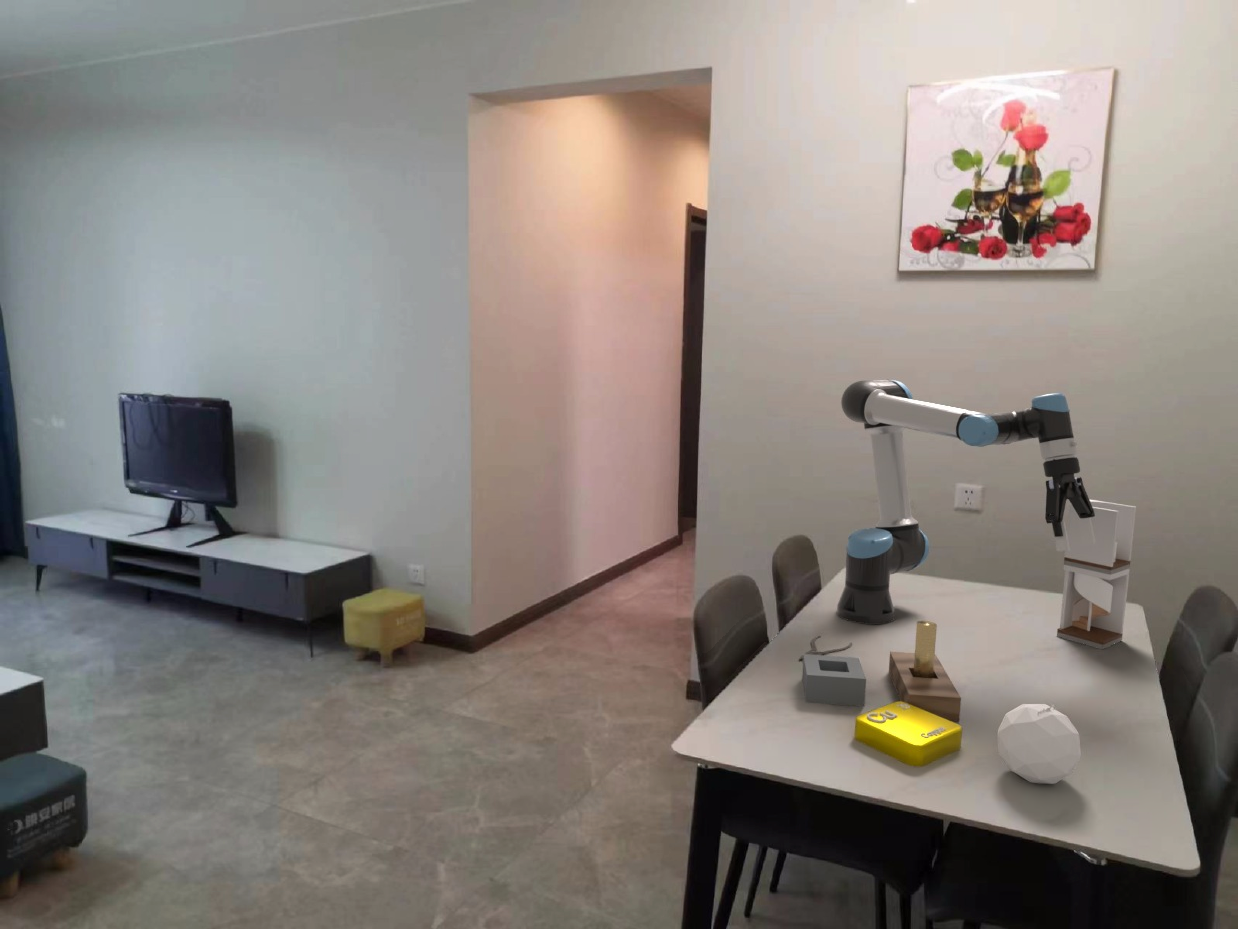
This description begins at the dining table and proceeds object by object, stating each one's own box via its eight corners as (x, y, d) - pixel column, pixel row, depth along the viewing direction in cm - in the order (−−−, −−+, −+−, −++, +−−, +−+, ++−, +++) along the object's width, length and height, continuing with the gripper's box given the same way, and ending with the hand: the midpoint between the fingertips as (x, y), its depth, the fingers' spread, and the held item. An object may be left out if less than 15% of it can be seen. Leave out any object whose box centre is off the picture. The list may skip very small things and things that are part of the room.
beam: (888, 672, 200) (890, 651, 200) (934, 675, 199) (935, 654, 198) (907, 717, 177) (909, 694, 176) (959, 721, 175) (961, 698, 175)
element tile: (916, 770, 156) (918, 745, 155) (849, 738, 168) (851, 715, 167) (965, 748, 165) (967, 724, 164) (898, 719, 177) (899, 696, 176)
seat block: (802, 679, 195) (803, 654, 194) (857, 683, 194) (858, 657, 193) (805, 702, 184) (806, 674, 183) (864, 706, 182) (866, 679, 181)
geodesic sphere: (1015, 716, 165) (1006, 673, 157) (1096, 739, 156) (1090, 695, 148) (991, 782, 158) (980, 740, 150) (1074, 810, 149) (1066, 767, 141)
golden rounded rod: (910, 691, 190) (915, 620, 188) (929, 692, 190) (934, 621, 187) (913, 698, 186) (918, 626, 184) (933, 700, 186) (938, 627, 183)
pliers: (853, 640, 220) (839, 667, 202) (853, 643, 220) (839, 670, 202) (815, 634, 224) (797, 660, 206) (814, 637, 224) (797, 663, 206)
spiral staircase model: (1056, 636, 226) (1069, 503, 221) (1076, 628, 233) (1089, 499, 227) (1102, 649, 217) (1117, 511, 212) (1121, 640, 224) (1136, 506, 218)
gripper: (1051, 457, 196) (1068, 551, 194) (1098, 454, 212) (1115, 541, 210) (1019, 463, 202) (1035, 554, 200) (1067, 459, 218) (1083, 544, 216)
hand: (1076, 548), depth 205 cm, fingers open, 13 cm apart
